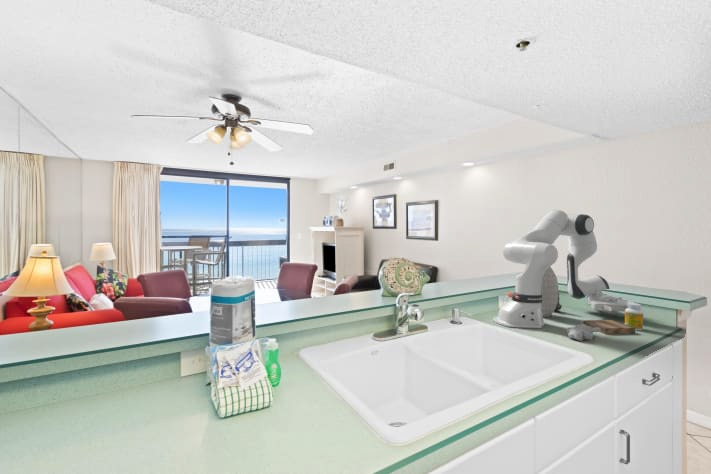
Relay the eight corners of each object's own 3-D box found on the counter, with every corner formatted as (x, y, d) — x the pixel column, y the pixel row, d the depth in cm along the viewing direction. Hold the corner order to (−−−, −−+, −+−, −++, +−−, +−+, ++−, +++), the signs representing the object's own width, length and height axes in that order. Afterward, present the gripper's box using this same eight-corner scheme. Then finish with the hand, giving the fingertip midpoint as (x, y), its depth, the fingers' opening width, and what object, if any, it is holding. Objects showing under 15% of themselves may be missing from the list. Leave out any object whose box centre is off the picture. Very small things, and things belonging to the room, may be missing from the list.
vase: (532, 317, 165) (533, 262, 164) (527, 311, 177) (528, 260, 176) (561, 319, 161) (562, 263, 160) (553, 313, 173) (554, 260, 172)
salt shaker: (558, 310, 180) (559, 288, 179) (564, 313, 174) (564, 291, 173) (547, 310, 180) (547, 288, 180) (552, 312, 174) (553, 290, 174)
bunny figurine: (560, 327, 136) (579, 318, 143) (561, 339, 136) (579, 329, 144) (586, 334, 128) (604, 324, 135) (586, 346, 128) (604, 336, 136)
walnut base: (605, 334, 140) (605, 328, 140) (583, 325, 152) (583, 320, 152) (635, 333, 141) (635, 327, 141) (611, 325, 153) (611, 319, 153)
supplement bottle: (626, 329, 147) (627, 304, 146) (622, 325, 152) (623, 301, 152) (644, 331, 144) (645, 306, 143) (640, 327, 149) (641, 303, 149)
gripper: (585, 296, 171) (599, 302, 157) (630, 298, 167) (648, 304, 153) (585, 308, 171) (599, 315, 158) (629, 310, 167) (647, 318, 153)
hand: (623, 310), depth 155 cm, fingers open, 8 cm apart
